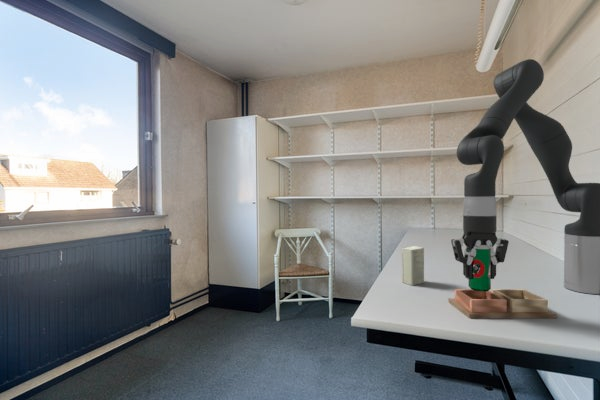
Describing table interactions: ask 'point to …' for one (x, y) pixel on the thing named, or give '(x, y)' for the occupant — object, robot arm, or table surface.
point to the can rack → (501, 304)
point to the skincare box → (413, 265)
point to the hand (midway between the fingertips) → (479, 278)
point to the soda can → (481, 269)
